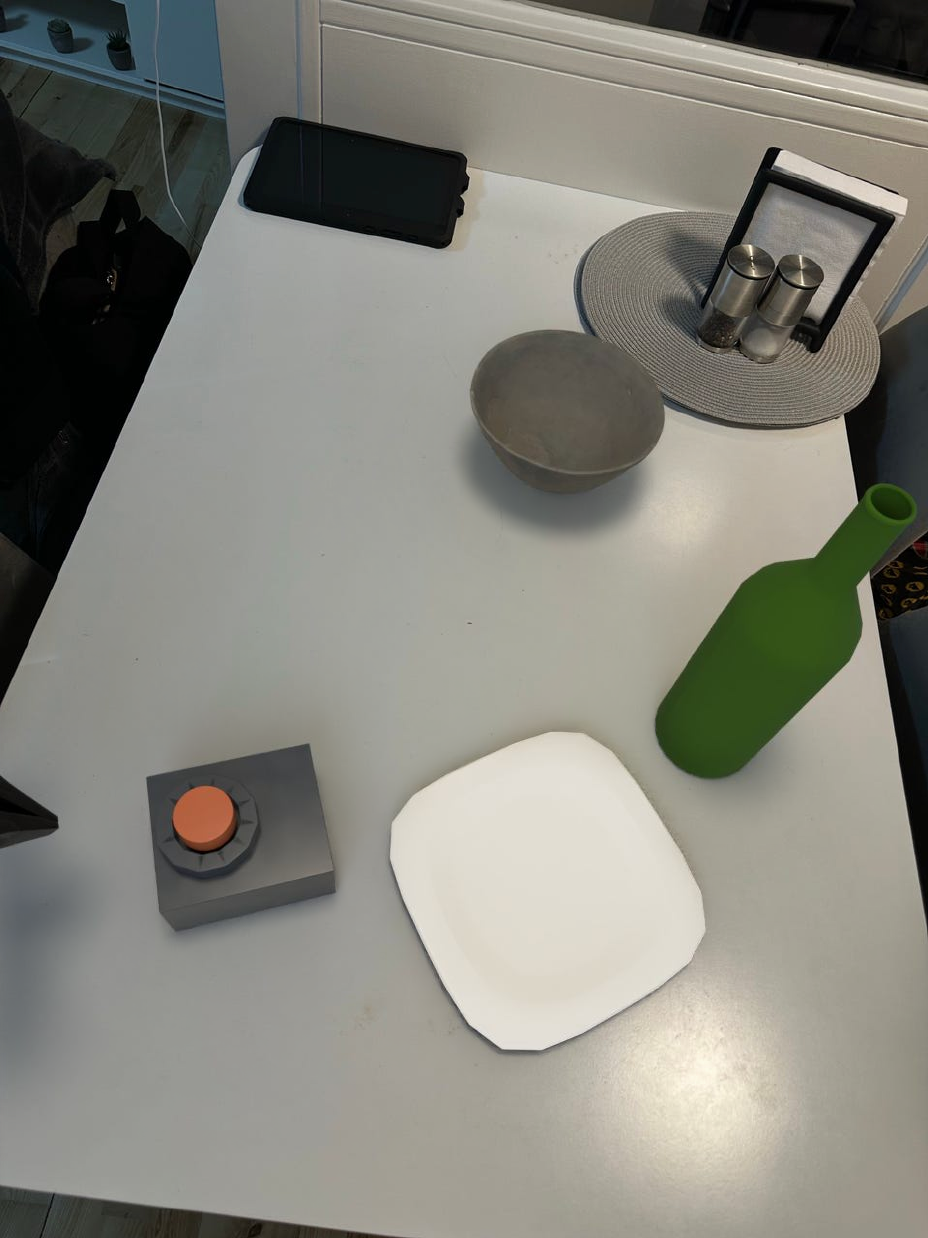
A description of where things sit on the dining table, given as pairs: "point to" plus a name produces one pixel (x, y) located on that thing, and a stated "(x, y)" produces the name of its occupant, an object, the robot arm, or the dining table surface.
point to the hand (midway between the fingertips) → (54, 825)
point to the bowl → (566, 409)
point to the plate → (545, 889)
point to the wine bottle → (777, 644)
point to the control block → (243, 840)
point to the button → (204, 818)
